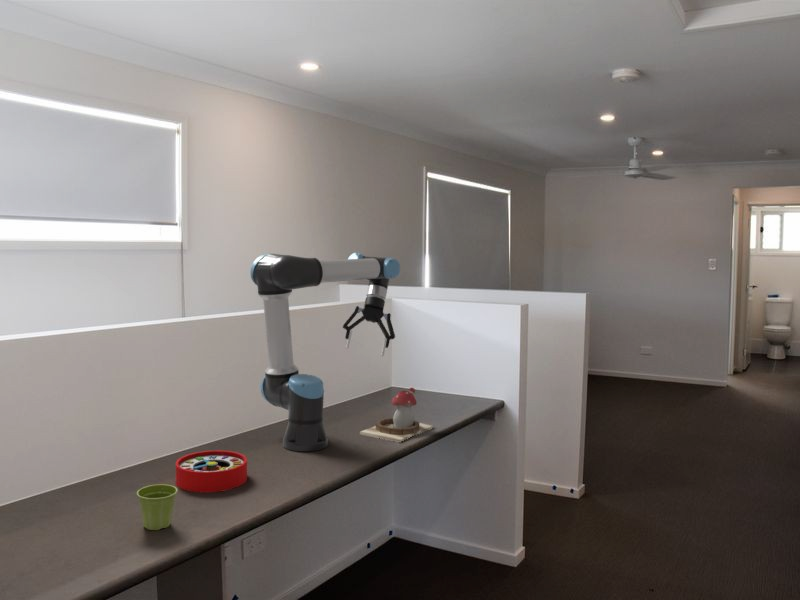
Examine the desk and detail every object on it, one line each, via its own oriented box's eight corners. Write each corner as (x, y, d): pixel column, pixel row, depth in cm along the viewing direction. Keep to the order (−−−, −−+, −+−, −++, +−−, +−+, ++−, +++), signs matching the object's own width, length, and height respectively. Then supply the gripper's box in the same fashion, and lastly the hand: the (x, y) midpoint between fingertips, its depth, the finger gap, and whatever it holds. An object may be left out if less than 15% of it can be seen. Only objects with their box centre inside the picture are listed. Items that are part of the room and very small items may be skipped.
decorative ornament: (415, 425, 264) (416, 386, 262) (416, 430, 257) (417, 390, 256) (390, 425, 263) (391, 386, 262) (391, 430, 257) (392, 389, 255)
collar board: (399, 442, 245) (399, 434, 244) (359, 434, 254) (360, 426, 253) (433, 428, 265) (433, 420, 265) (395, 420, 274) (395, 413, 274)
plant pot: (182, 518, 176) (182, 484, 175) (171, 534, 166) (171, 498, 166) (144, 517, 175) (144, 483, 175) (131, 533, 166) (131, 497, 165)
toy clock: (260, 462, 202) (196, 477, 189) (260, 482, 203) (196, 498, 189) (225, 446, 217) (163, 459, 203) (224, 464, 217) (163, 479, 204)
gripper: (405, 308, 276) (395, 360, 270) (343, 293, 273) (331, 346, 267) (408, 303, 269) (398, 356, 263) (345, 288, 266) (333, 342, 260)
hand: (364, 351), depth 265 cm, fingers open, 13 cm apart
